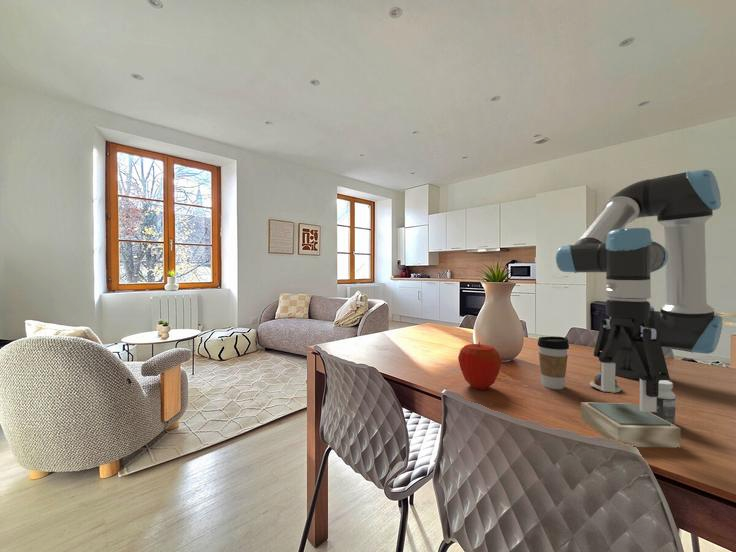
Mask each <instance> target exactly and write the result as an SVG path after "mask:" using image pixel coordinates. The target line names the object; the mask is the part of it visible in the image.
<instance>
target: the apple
mask: <svg viewBox="0 0 736 552" xmlns="http://www.w3.org/2000/svg"><path fill="white" fill-rule="evenodd" d="M457 358H458V364H459V368H460V370H461V374H462V376H463V378H464V381H466V383H468V385H470V387H471V388H473V389H476V390H480V391H484V390H486V389H488V388H489V387H491V386H492V385H494V384H495V382H496V380H497V377H498V375H499V374H500V369H501V363H502V358H501V355H500V353H499V351H498V350H497V349H496V348H494V347H493V346H491V345H487V344H481V342H480V341H479V342H478V343H469V344H466V345H464V346H463V347H461V348H460V350H459V353H458V357H457Z"/></svg>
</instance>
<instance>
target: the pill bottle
mask: <svg viewBox="0 0 736 552" xmlns="http://www.w3.org/2000/svg"><path fill="white" fill-rule="evenodd" d="M672 389H674V383H673V382H672V381H670V380H660V381H659V390H658V397H657V407H656V412H650V413H652V414H654V415H656V416H658V417H660V418H662V419H664V420H666V421H668V422H669V423H671V424H673V425H675V426H676V394H675V393H674V392H673V391H672Z"/></svg>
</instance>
